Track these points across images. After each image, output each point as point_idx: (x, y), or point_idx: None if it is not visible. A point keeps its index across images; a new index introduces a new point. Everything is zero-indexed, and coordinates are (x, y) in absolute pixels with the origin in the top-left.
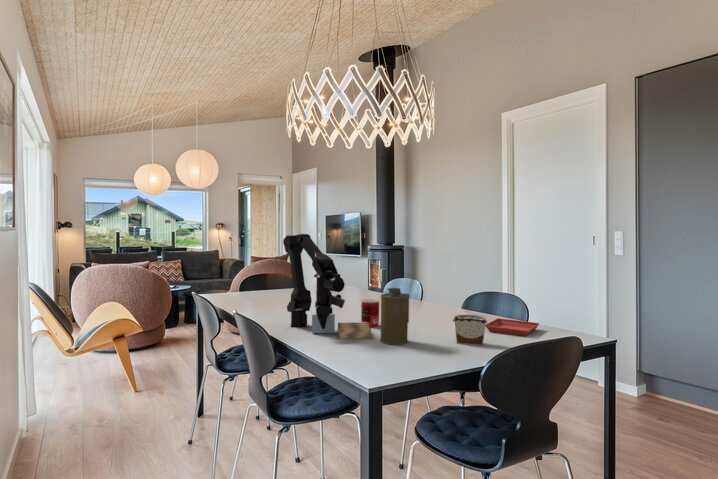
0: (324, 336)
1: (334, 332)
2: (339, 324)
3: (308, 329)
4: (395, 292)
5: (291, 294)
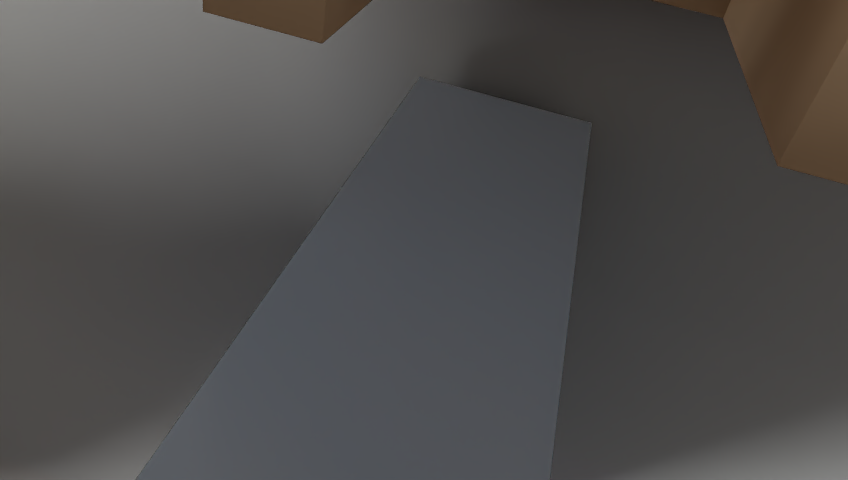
0: (815, 453)
1: (589, 125)
2: (822, 109)
3: (49, 430)
4: None
5: None
